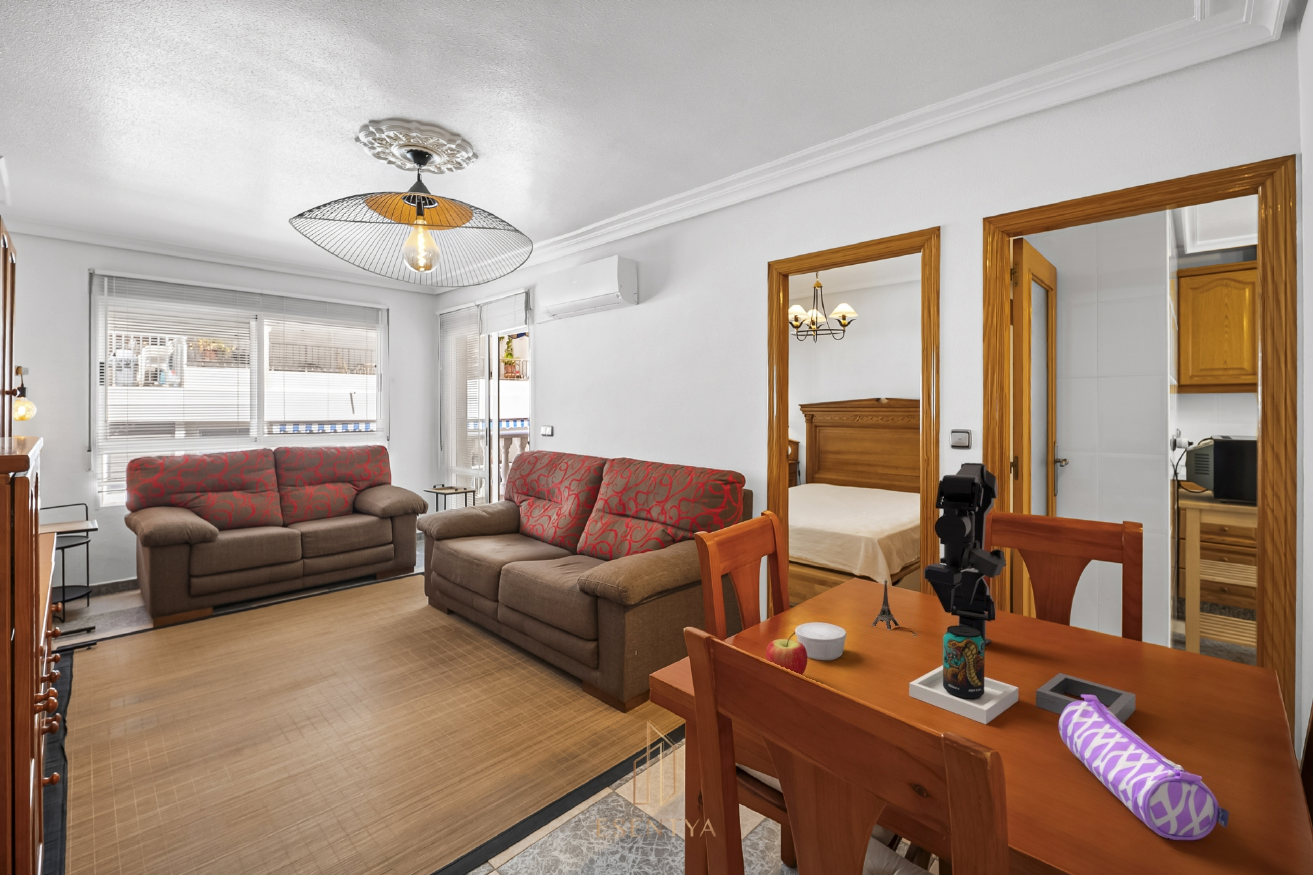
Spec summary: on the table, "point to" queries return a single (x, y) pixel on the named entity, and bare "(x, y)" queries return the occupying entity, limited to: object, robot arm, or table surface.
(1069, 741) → the pencil case
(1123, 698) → the collar
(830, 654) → the ramekin
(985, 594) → the robot arm
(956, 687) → the beverage can
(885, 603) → the eiffel tower figurine
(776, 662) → the apple
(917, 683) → the tray
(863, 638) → the table surface
